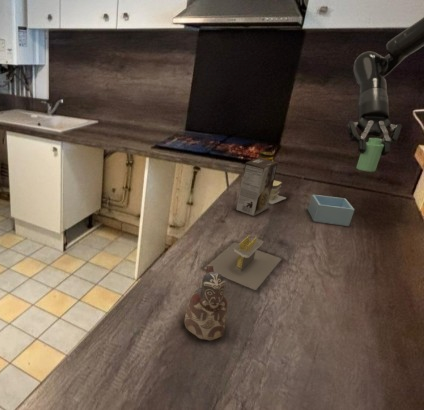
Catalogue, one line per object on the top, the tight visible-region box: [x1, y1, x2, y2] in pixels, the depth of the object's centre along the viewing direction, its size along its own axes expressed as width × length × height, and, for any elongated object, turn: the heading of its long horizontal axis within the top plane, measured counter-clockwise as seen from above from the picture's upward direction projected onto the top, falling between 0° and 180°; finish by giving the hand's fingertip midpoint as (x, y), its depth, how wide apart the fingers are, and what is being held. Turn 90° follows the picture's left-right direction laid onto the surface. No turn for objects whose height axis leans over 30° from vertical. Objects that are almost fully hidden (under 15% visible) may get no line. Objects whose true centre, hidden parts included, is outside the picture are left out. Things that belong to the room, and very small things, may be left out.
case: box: [307, 194, 356, 227], centre depth 111 cm, size 9×9×6 cm
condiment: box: [257, 151, 275, 161], centre depth 139 cm, size 7×8×12 cm
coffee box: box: [236, 157, 279, 217], centre depth 114 cm, size 9×6×16 cm
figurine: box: [184, 264, 228, 341], centre depth 64 cm, size 7×7×12 cm
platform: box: [203, 234, 283, 291], centre depth 85 cm, size 12×18×7 cm, turn 137°
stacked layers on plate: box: [269, 179, 287, 205], centre depth 126 cm, size 10×9×6 cm
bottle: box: [356, 137, 384, 173], centre depth 109 cm, size 5×5×10 cm
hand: (373, 152), depth 107 cm, fingers closed on bottle, 5 cm apart
